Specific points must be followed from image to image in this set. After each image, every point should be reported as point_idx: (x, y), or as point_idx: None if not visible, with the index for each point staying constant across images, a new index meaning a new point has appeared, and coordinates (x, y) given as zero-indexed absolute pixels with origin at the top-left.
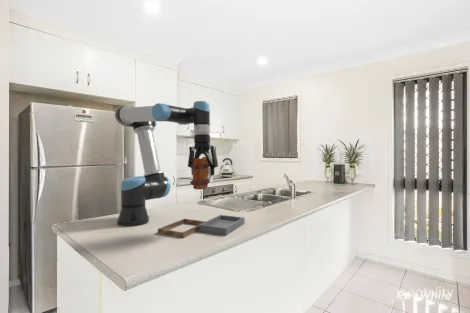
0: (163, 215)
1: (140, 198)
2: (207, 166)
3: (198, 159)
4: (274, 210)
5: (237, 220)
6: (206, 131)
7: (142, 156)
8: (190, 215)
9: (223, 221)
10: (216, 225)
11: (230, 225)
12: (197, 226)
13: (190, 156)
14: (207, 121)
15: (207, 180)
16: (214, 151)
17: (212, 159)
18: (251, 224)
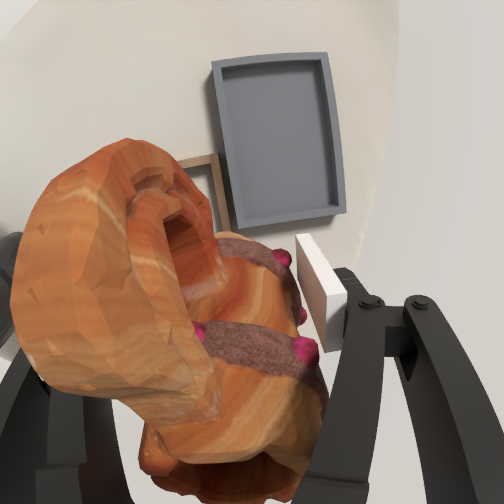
0: (12, 166)
1: (6, 312)
2: (323, 379)
3: (273, 495)
4: None
5: (297, 62)
6: None
7: None
8: (69, 95)
9: (255, 98)
10: (266, 158)
11: (341, 175)
12: (229, 225)
13: (40, 465)
14: None
15: (301, 303)
16: (492, 484)
17: (417, 418)
18: (347, 60)
